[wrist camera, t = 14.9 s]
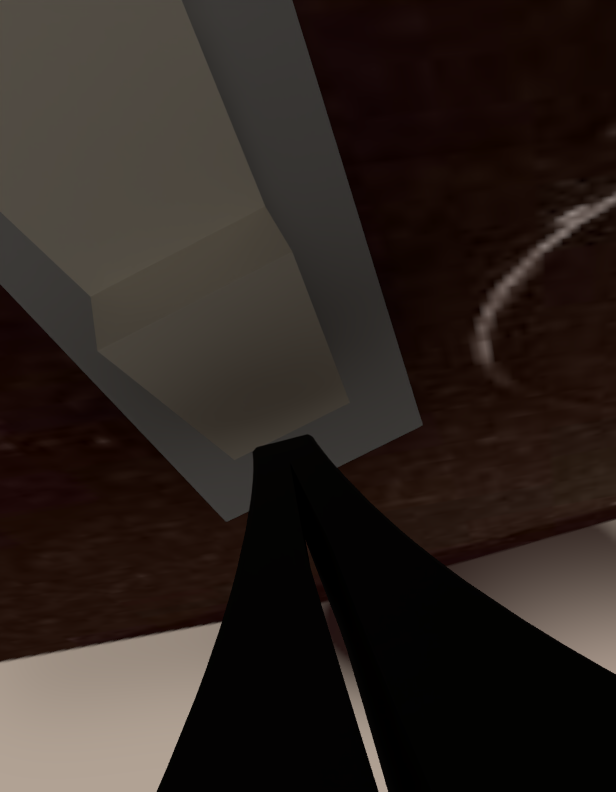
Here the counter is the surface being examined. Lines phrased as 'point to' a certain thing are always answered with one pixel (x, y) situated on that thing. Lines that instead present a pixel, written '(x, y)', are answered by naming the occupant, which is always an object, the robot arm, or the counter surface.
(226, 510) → the mat
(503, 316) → the counter surface
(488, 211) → the counter surface
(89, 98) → the domino
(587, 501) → the counter surface
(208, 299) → the domino
